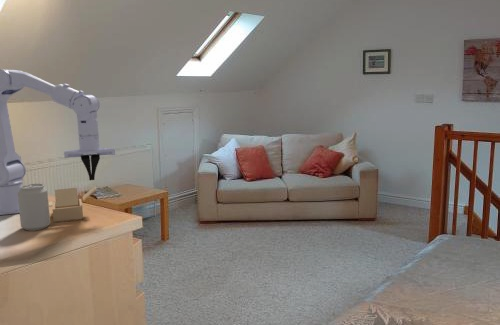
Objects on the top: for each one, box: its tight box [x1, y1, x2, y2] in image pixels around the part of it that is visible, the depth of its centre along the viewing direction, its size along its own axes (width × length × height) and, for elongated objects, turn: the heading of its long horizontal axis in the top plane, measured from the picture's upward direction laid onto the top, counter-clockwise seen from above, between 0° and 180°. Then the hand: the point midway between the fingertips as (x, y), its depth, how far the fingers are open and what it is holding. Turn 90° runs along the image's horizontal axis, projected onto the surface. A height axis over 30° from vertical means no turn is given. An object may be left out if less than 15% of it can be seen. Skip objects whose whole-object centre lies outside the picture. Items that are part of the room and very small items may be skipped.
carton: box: [48, 198, 84, 224], centre depth 143 cm, size 15×12×4 cm
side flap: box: [82, 185, 97, 202], centre depth 145 cm, size 5×5×1 cm
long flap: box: [54, 187, 79, 207], centre depth 137 cm, size 5×6×1 cm
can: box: [18, 183, 51, 232], centre depth 131 cm, size 8×8×12 cm
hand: (91, 179), depth 144 cm, fingers closed
